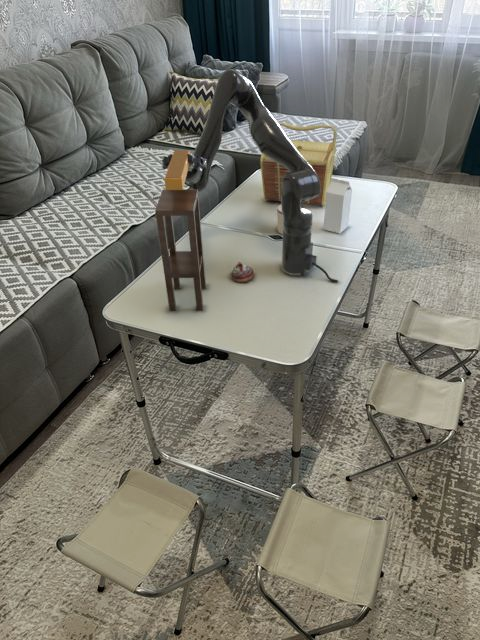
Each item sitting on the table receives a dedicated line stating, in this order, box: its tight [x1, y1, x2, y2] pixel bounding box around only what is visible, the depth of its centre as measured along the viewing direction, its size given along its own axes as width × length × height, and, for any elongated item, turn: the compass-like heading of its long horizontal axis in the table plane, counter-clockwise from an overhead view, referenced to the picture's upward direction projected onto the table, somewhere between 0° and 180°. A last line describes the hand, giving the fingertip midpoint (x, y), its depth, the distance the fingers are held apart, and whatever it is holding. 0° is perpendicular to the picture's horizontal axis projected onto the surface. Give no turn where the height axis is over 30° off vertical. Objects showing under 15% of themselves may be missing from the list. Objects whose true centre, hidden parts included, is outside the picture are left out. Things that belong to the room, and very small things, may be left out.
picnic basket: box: [259, 121, 338, 207], centre depth 210 cm, size 29×26×30 cm
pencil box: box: [164, 149, 191, 190], centre depth 141 cm, size 22×4×3 cm, turn 1°
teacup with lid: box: [276, 204, 283, 235], centre depth 192 cm, size 12×9×12 cm
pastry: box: [230, 261, 255, 283], centre depth 167 cm, size 8×8×5 cm
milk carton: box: [322, 177, 353, 234], centre depth 190 cm, size 7×7×19 cm
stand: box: [154, 189, 207, 312], centre depth 149 cm, size 14×10×32 cm
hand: (179, 157), depth 144 cm, fingers closed on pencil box, 4 cm apart
